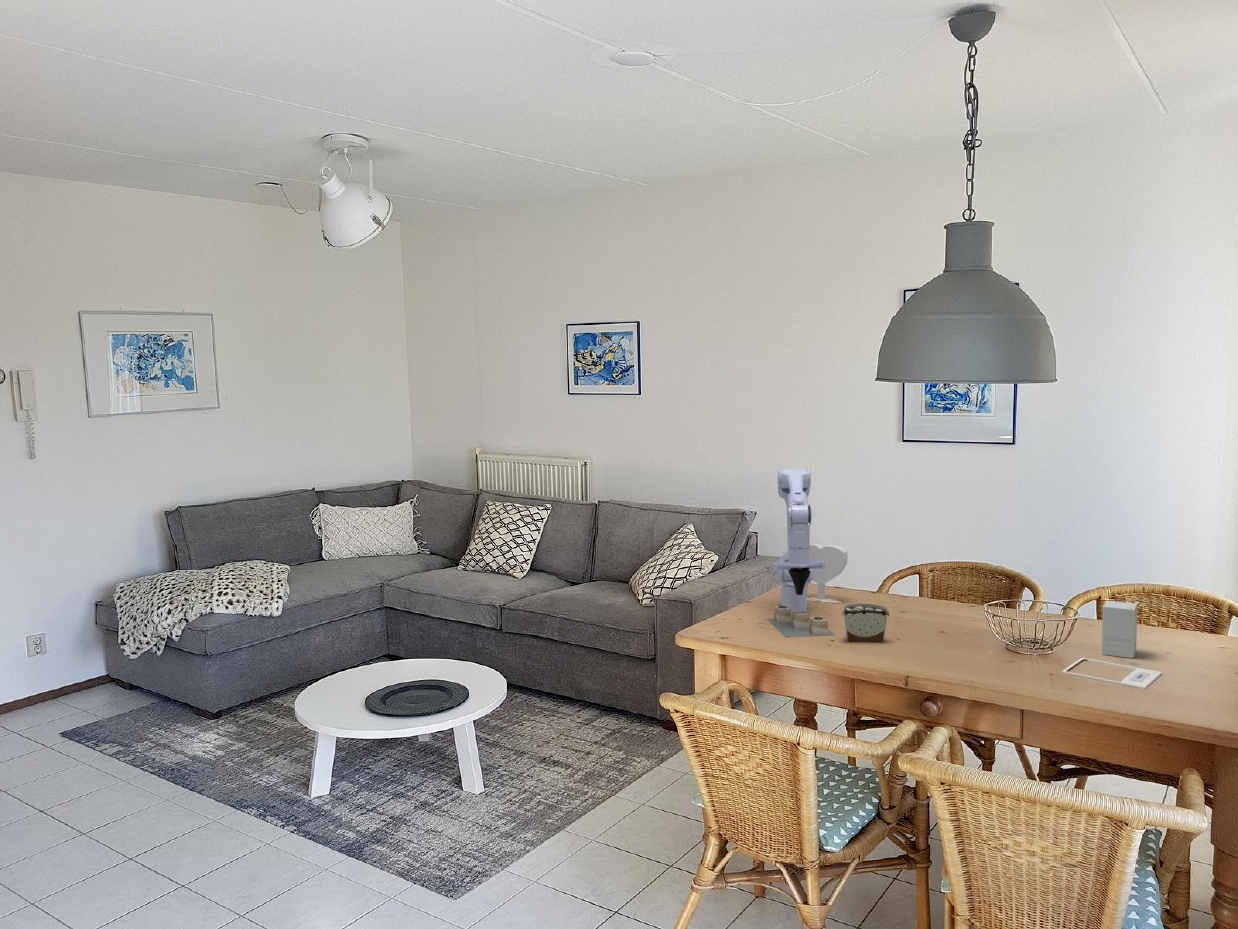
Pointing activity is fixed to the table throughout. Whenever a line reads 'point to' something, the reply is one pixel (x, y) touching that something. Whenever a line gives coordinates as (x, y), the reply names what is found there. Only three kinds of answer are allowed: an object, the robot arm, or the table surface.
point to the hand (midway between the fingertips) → (799, 594)
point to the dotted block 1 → (782, 614)
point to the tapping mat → (794, 630)
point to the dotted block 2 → (818, 625)
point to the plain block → (799, 619)
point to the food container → (865, 622)
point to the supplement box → (1119, 629)
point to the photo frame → (1134, 679)
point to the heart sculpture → (827, 566)
